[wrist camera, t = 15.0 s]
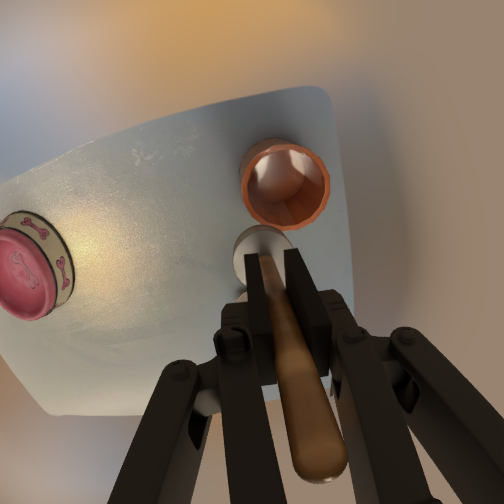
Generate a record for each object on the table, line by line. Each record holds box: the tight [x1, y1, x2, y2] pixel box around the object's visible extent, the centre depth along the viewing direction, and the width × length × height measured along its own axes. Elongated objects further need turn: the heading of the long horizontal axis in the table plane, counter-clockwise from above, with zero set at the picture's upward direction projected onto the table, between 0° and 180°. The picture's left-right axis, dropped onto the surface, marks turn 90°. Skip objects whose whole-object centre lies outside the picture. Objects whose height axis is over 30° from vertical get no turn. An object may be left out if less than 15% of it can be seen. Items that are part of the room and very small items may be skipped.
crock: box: [239, 138, 330, 231], centre depth 36 cm, size 9×9×10 cm
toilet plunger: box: [233, 225, 348, 484], centre depth 16 cm, size 5×5×21 cm
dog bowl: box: [0, 212, 75, 321], centre depth 40 cm, size 18×19×7 cm
